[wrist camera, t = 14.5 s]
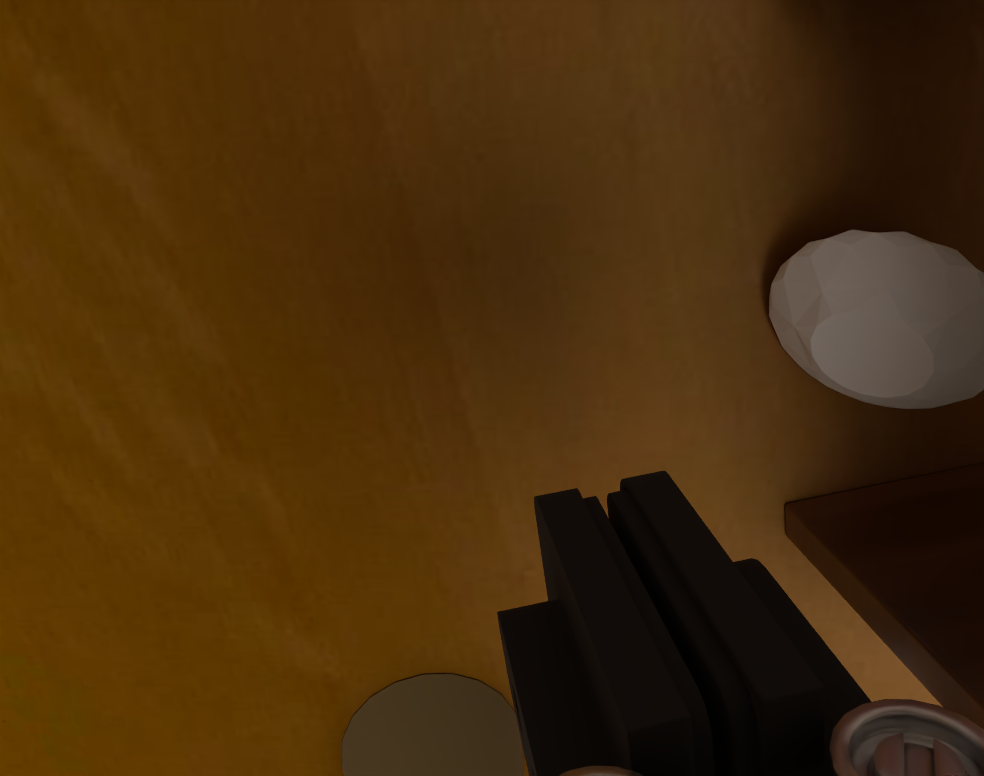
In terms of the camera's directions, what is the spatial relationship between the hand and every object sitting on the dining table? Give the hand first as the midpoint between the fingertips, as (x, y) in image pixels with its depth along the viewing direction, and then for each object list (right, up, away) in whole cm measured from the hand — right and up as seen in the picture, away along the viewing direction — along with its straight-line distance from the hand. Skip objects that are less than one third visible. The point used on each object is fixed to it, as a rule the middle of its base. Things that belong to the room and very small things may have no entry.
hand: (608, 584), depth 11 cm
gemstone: (+9, +5, +14) cm, 17 cm away
